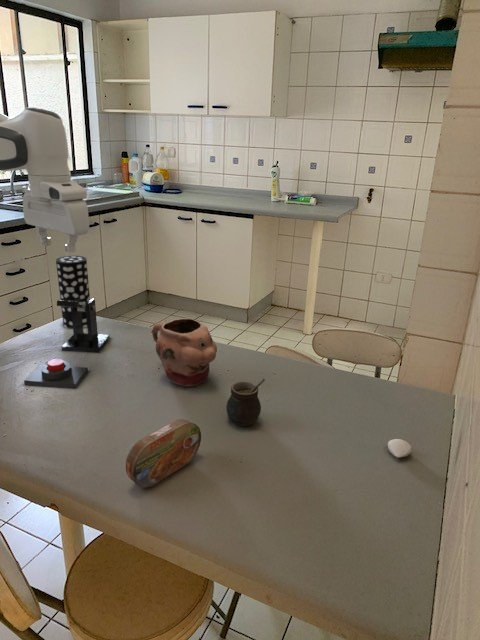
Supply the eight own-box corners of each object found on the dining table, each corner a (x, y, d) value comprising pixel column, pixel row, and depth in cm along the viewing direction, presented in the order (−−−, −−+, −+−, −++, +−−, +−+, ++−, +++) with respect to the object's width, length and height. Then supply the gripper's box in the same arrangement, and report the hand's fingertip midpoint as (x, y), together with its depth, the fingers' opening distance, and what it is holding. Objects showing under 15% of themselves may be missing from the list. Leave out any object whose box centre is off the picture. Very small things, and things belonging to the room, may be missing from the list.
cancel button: (45, 371, 107) (44, 365, 107) (52, 364, 111) (51, 358, 110) (60, 372, 107) (59, 366, 107) (66, 365, 111) (66, 359, 110)
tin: (135, 497, 76) (132, 455, 73) (123, 487, 78) (121, 446, 74) (202, 455, 86) (202, 416, 83) (191, 447, 88) (191, 409, 85)
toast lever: (76, 309, 113) (77, 299, 113) (56, 307, 113) (57, 298, 113) (94, 312, 125) (94, 303, 125) (75, 311, 125) (76, 302, 125)
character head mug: (134, 374, 113) (131, 321, 108) (166, 355, 123) (165, 307, 118) (200, 399, 104) (200, 343, 99) (229, 377, 114) (231, 325, 108)
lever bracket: (99, 352, 123) (95, 307, 118) (62, 350, 124) (56, 305, 119) (109, 338, 132) (106, 296, 127) (75, 336, 132) (70, 294, 127)
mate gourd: (222, 412, 100) (224, 371, 96) (257, 409, 101) (259, 368, 97) (229, 432, 93) (230, 388, 89) (265, 428, 95) (268, 386, 91)
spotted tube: (97, 323, 141) (92, 259, 134) (72, 331, 135) (65, 264, 128) (82, 316, 146) (76, 254, 139) (58, 323, 140) (50, 258, 133)
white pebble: (410, 450, 90) (413, 440, 89) (408, 466, 86) (410, 455, 85) (388, 444, 91) (390, 433, 90) (384, 459, 87) (386, 448, 86)
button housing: (24, 385, 107) (22, 373, 105) (40, 368, 114) (39, 357, 113) (75, 388, 106) (74, 377, 105) (88, 371, 113) (87, 360, 112)
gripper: (12, 184, 107) (20, 243, 112) (66, 193, 96) (73, 258, 101) (37, 182, 111) (44, 239, 117) (91, 191, 100) (96, 253, 106)
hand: (58, 248), depth 109 cm, fingers open, 8 cm apart
